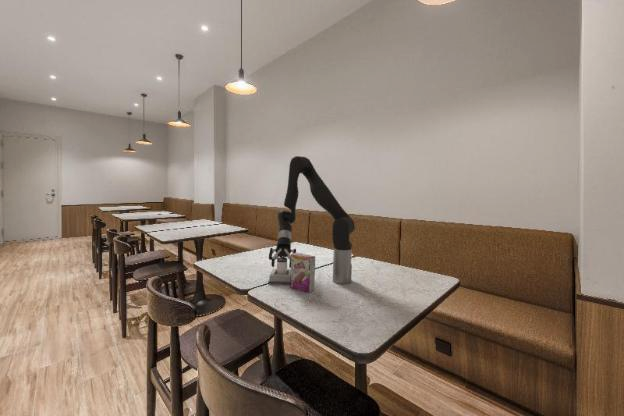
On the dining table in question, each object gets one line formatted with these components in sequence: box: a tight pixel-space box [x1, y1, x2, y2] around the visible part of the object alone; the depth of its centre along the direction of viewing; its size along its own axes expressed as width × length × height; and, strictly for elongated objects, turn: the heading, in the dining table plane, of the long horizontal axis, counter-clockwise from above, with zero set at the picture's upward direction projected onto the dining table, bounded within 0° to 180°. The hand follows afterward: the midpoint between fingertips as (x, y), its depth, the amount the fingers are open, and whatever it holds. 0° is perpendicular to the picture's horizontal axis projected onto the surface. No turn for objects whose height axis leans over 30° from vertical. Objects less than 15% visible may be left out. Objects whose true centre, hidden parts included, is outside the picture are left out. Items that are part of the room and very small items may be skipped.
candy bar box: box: [289, 252, 316, 293], centre depth 127 cm, size 11×5×16 cm, turn 58°
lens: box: [276, 257, 288, 275], centre depth 138 cm, size 5×5×10 cm
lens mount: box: [267, 268, 291, 286], centre depth 139 cm, size 12×12×4 cm
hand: (281, 267), depth 137 cm, fingers open, 8 cm apart
